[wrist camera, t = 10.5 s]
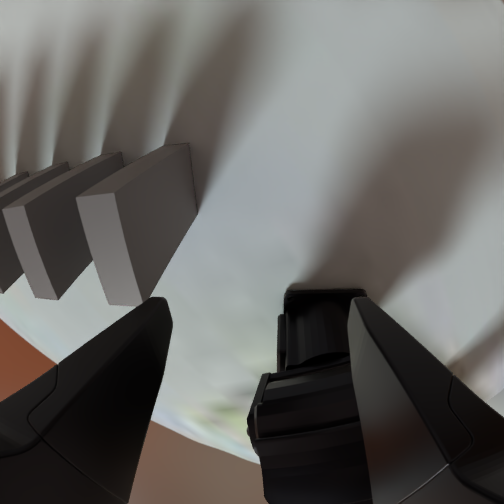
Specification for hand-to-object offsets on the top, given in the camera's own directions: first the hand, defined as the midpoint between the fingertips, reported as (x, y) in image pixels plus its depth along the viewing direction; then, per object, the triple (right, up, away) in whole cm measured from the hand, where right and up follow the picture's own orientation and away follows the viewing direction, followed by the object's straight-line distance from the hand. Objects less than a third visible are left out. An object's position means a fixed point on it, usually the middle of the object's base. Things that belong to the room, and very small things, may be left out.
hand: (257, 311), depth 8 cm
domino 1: (-5, +6, +12) cm, 14 cm away
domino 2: (-10, +6, +12) cm, 17 cm away
